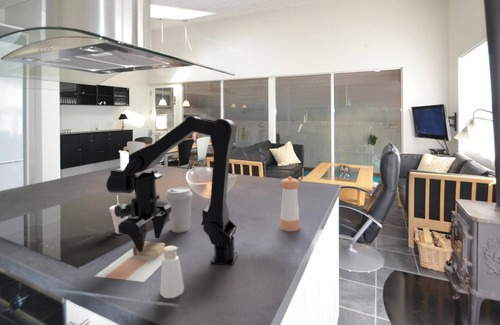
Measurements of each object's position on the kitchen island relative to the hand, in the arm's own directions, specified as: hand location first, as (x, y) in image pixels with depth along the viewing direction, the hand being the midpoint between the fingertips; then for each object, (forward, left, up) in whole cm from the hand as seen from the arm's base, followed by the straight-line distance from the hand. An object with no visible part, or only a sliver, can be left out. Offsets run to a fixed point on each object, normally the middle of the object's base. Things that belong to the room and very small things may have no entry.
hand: (149, 244), depth 81 cm
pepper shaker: (+16, +15, -3) cm, 23 cm away
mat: (+5, 0, -3) cm, 5 cm away
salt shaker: (-28, +40, -3) cm, 49 cm away
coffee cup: (-19, +1, -3) cm, 19 cm away
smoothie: (-13, -19, -3) cm, 23 cm away
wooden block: (0, 0, -3) cm, 3 cm away
